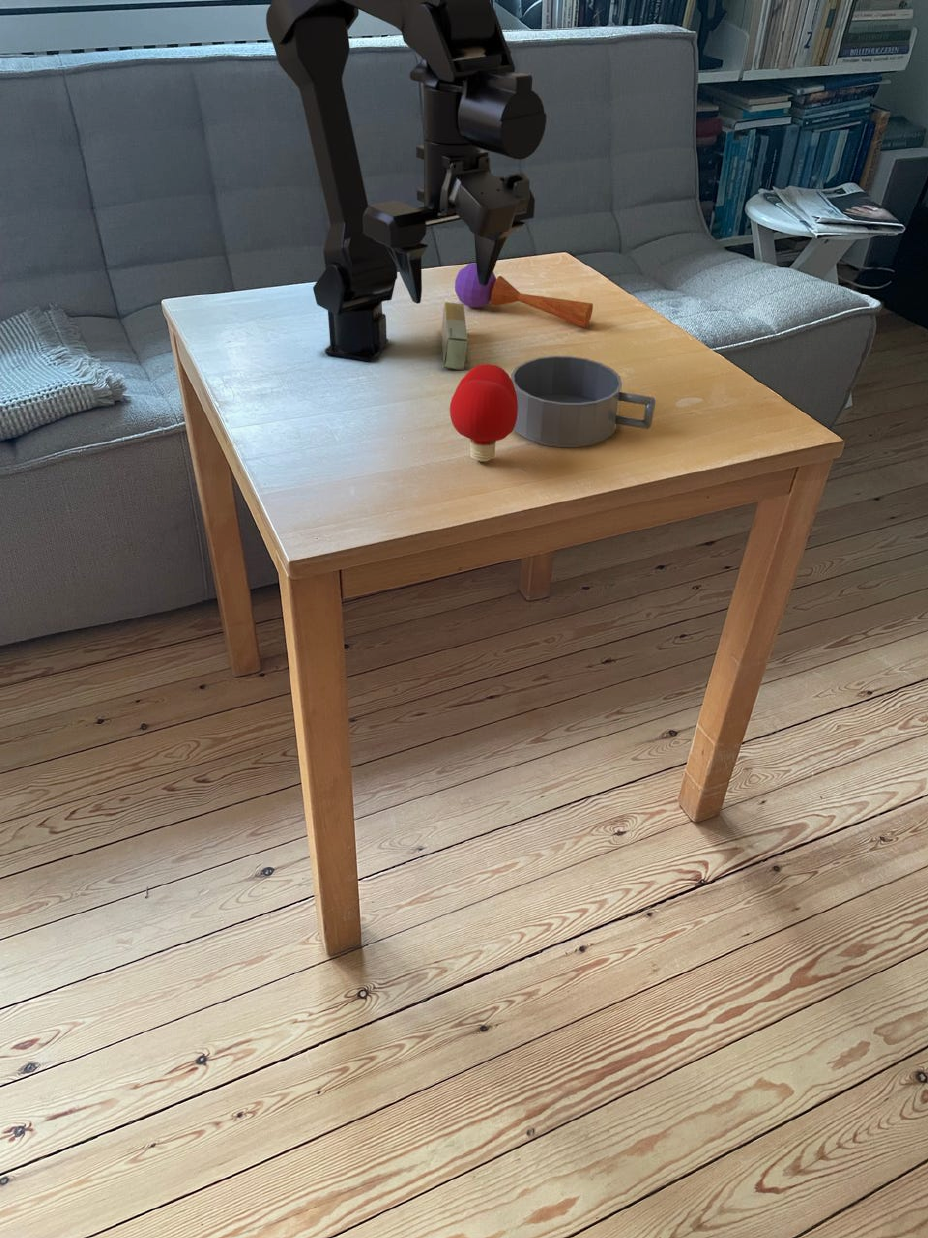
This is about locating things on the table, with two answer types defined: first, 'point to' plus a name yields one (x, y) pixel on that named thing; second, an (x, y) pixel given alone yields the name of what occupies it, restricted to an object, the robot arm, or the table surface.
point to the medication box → (454, 336)
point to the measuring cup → (572, 401)
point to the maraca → (515, 297)
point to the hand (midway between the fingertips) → (450, 293)
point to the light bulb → (484, 409)
